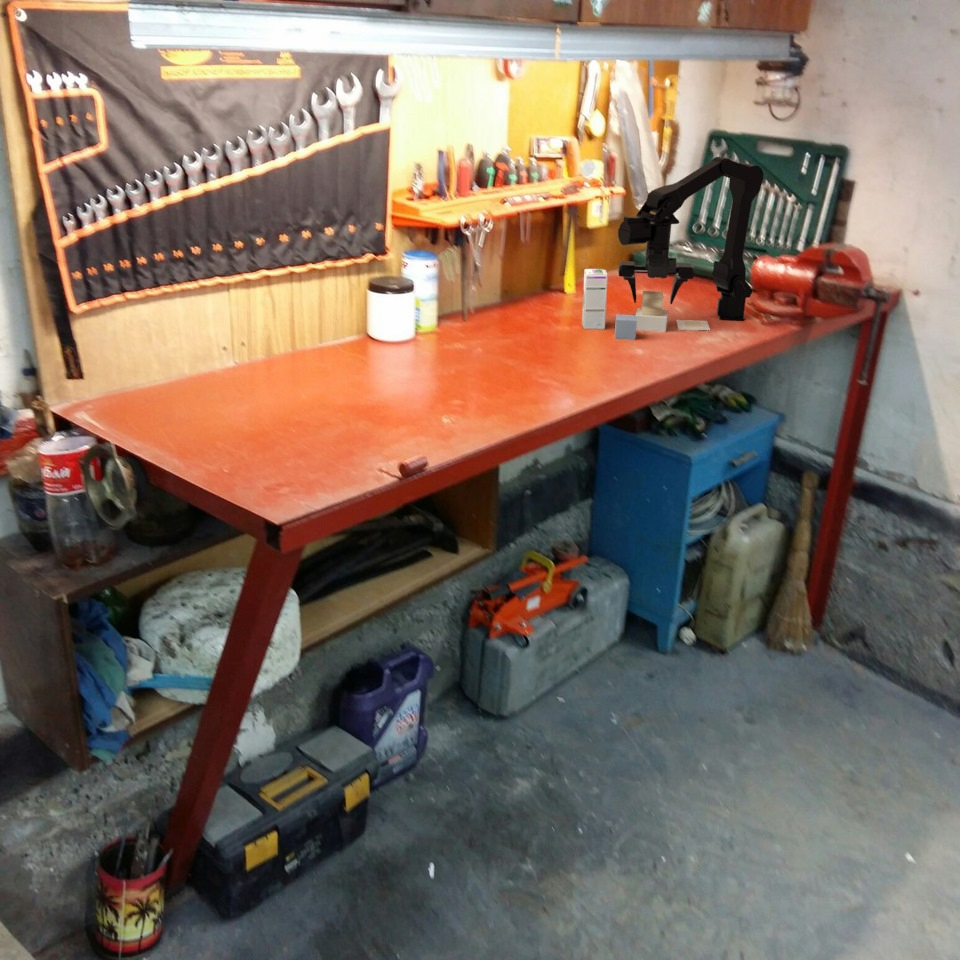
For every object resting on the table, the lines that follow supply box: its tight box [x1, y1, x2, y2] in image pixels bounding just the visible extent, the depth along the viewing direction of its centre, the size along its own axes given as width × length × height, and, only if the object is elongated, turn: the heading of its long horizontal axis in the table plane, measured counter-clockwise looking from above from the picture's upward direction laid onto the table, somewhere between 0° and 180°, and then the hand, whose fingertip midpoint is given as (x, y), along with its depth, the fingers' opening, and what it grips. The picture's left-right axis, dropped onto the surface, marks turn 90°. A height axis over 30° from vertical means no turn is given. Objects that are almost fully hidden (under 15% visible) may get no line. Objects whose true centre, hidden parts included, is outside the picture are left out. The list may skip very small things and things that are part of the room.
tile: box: [675, 319, 711, 332], centre depth 257 cm, size 8×8×1 cm
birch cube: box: [640, 290, 664, 316], centre depth 254 cm, size 5×5×5 cm
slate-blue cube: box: [614, 314, 637, 341], centre depth 247 cm, size 5×5×5 cm
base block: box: [635, 307, 670, 333], centre depth 256 cm, size 8×8×4 cm
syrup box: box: [581, 268, 609, 330], centre depth 253 cm, size 6×6×14 cm
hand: (652, 303), depth 254 cm, fingers open, 9 cm apart
